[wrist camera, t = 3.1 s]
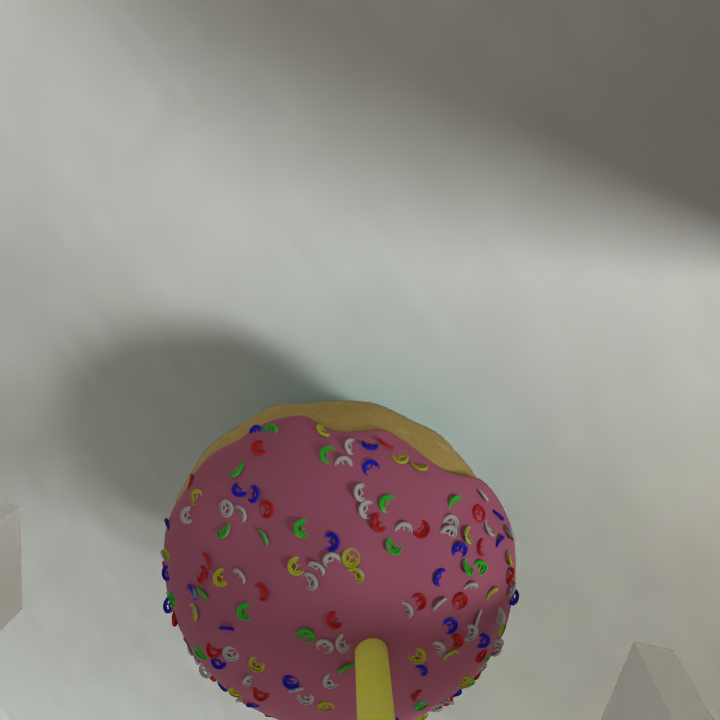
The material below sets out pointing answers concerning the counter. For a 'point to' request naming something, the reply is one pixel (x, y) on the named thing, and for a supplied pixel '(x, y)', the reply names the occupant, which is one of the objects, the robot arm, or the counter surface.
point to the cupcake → (338, 565)
